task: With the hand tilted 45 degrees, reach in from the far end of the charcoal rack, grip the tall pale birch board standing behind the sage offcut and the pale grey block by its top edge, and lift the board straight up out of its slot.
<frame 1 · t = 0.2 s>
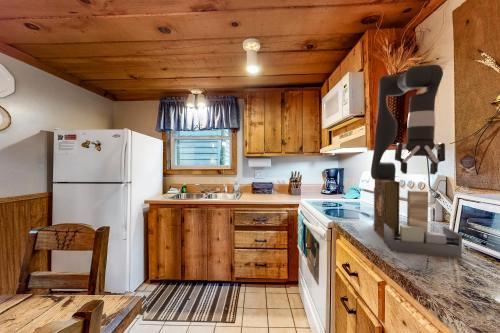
hand: (418, 173, 83), 29 cm above the countertop, tool pointing down, fingers open, 8 cm apart
birch board: (416, 247, 95), resting in rack
rack: (419, 249, 93), on the countertop
sage offcut: (411, 250, 91), resting in rack
pale grey block: (434, 253, 89), resting in rack
book: (385, 235, 111), on the countertop
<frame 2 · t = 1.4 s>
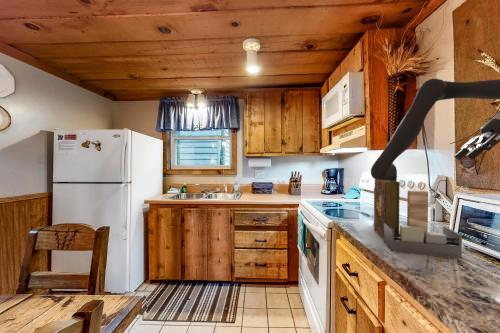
hand: (462, 158, 89), 35 cm above the countertop, tool tilted 45°, fingers open, 8 cm apart
nothing on the countertop moved.
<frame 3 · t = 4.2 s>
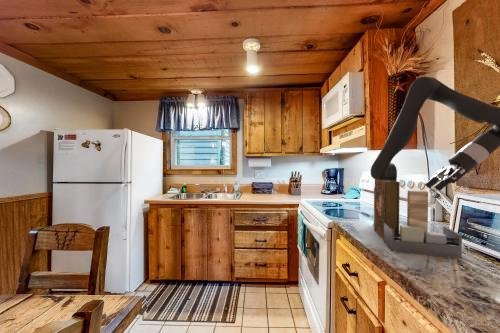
hand: (431, 187, 94), 23 cm above the countertop, tool tilted 45°, fingers open, 8 cm apart
nothing on the countertop moved.
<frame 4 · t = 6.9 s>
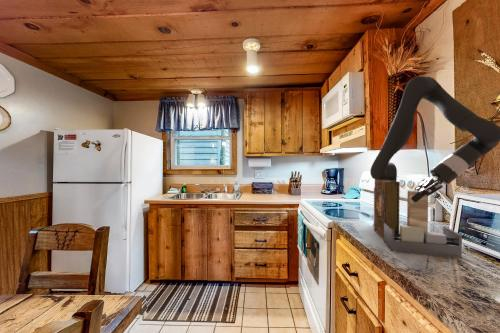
hand: (411, 199, 96), 18 cm above the countertop, tool tilted 45°, fingers closed on birch board, 3 cm apart
birch board: (416, 247, 95), resting in rack, touching gripper
everything else where it was.
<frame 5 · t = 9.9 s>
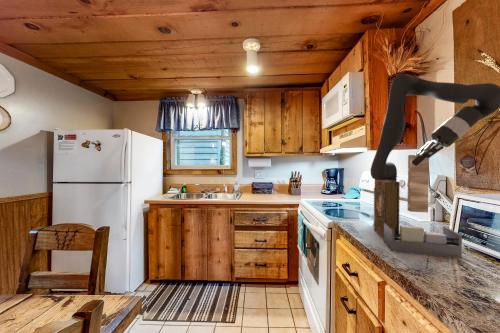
hand: (412, 163, 95), 33 cm above the countertop, tool tilted 45°, fingers closed on birch board, 3 cm apart
birch board: (417, 211, 95), point 14 cm above the countertop, touching gripper
everything else where it was.
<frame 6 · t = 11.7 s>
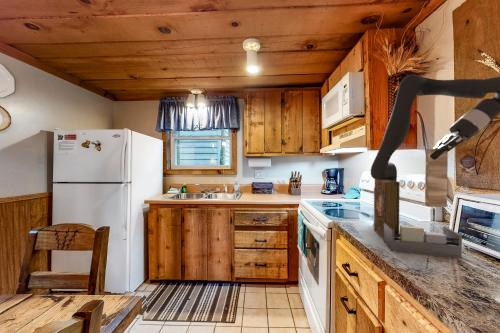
hand: (430, 157, 93), 35 cm above the countertop, tool tilted 45°, fingers closed on birch board, 3 cm apart
birch board: (435, 206, 93), point 16 cm above the countertop, touching gripper
everything else where it was.
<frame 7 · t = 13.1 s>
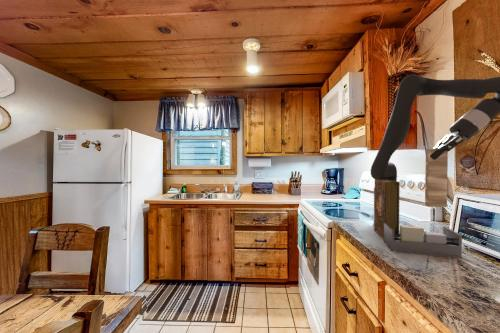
hand: (430, 157, 93), 35 cm above the countertop, tool tilted 45°, fingers closed on birch board, 3 cm apart
birch board: (435, 206, 93), point 16 cm above the countertop, touching gripper
everything else where it was.
at the end: the gripper is holding birch board; birch board point 16.4 cm above the countertop; birch board touching gripper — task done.
